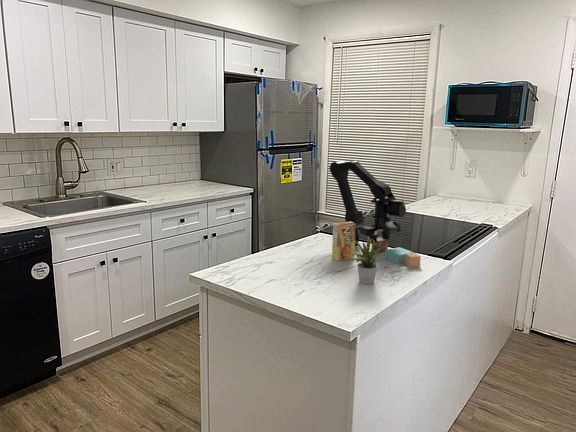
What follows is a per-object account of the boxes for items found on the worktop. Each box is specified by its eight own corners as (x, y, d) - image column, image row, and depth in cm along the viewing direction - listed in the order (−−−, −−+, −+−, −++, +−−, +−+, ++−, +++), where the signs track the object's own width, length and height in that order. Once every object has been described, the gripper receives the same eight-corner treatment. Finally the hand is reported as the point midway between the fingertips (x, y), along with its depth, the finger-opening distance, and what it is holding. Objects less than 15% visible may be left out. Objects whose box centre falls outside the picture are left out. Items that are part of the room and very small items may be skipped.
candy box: (349, 255, 189) (350, 220, 185) (354, 258, 185) (356, 223, 182) (331, 258, 185) (332, 223, 181) (337, 261, 181) (337, 225, 178)
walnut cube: (378, 252, 193) (379, 241, 192) (371, 249, 198) (372, 238, 197) (387, 250, 196) (388, 240, 194) (380, 247, 200) (380, 237, 199)
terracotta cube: (408, 267, 174) (409, 256, 173) (404, 263, 179) (405, 253, 178) (419, 267, 175) (420, 256, 174) (415, 263, 179) (416, 252, 178)
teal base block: (398, 264, 178) (399, 255, 178) (384, 259, 185) (385, 250, 184) (412, 261, 182) (413, 252, 182) (398, 256, 189) (399, 247, 188)
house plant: (345, 273, 168) (346, 231, 164) (382, 274, 166) (384, 232, 163) (346, 287, 154) (347, 242, 150) (386, 288, 153) (388, 243, 149)
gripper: (375, 219, 182) (374, 255, 185) (410, 215, 190) (408, 249, 194) (359, 214, 192) (358, 248, 195) (393, 210, 200) (391, 243, 203)
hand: (379, 247), depth 196 cm, fingers closed on walnut cube, 5 cm apart
